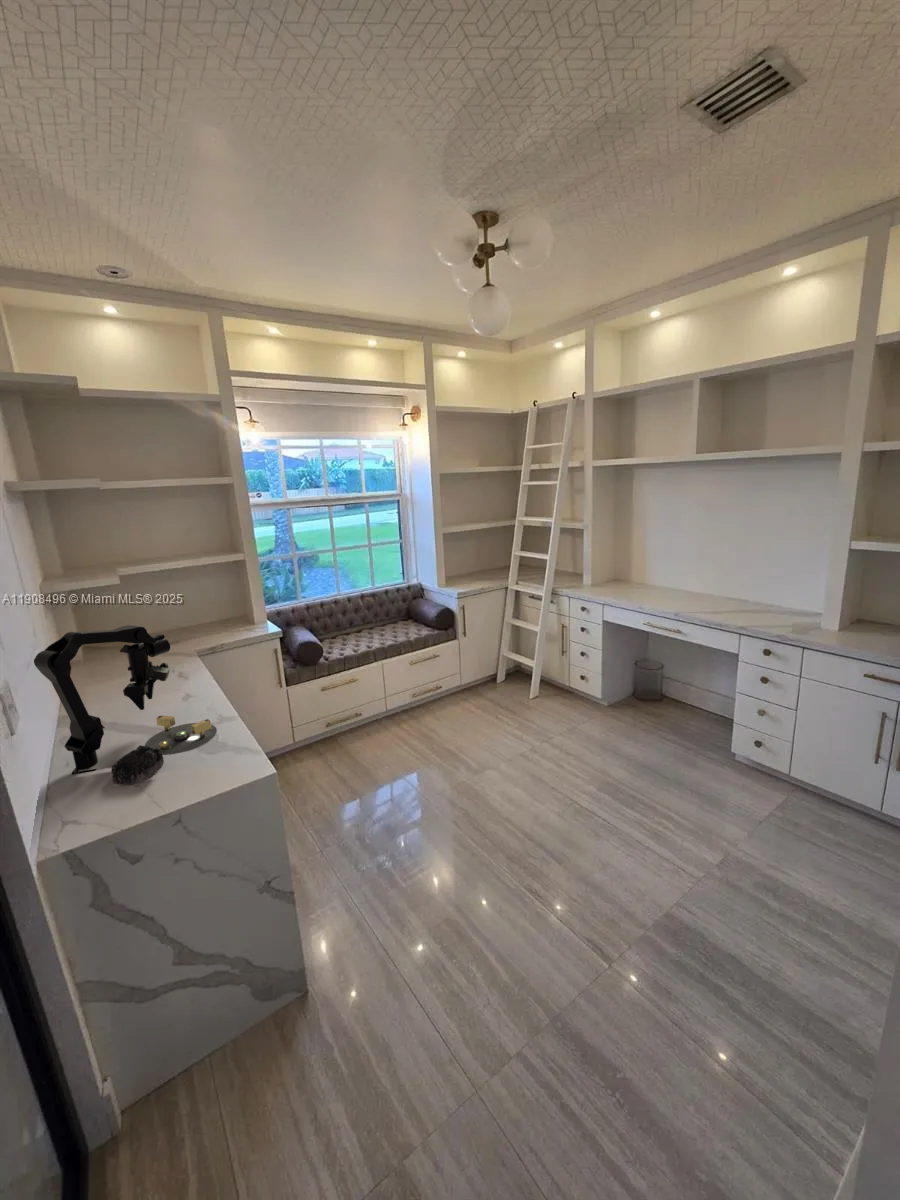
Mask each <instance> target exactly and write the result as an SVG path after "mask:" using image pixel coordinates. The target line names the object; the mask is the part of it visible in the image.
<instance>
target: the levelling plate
mask: <svg viewBox="0 0 900 1200" xmlns="http://www.w3.org/2000/svg"><path fill="white" fill-rule="evenodd" d="M196 723H197V722H192V723H191V722H190V723H185V724H180V725H174V726H171V727H170V731H167V732H166V731H165V729H164V730H162V731H160V732H158V733H156V734H154V735H153V736H151V737H150V738H149V739H148V740H147V741H146V742H145V744H144V746H147V747H151V748H153V749H160V750H161V752H162V756H167V755H168V756H169V755H174V754H180V753H185V752H188V751H192V750H194V749H196V748H199V747H201V746H203V745H205V744H207V743H209V742H210V741H211V740H213V738H214V737H215V736H216V735H217V732H218V729H217V727H216V726H215V725H214V724H211V729H208V730H206V731H205V737H202V738H201V737H200V733H198V734H196V735H195V734H193V733H192V730H191V725H193V724H196Z"/></svg>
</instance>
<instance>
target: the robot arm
mask: <svg viewBox="0 0 900 1200" xmlns="http://www.w3.org/2000/svg"><path fill="white" fill-rule="evenodd" d="M117 642H118V643H127V644H124V645H123V646H122V647H121V649H119V652H120V653H124V654H127V659H128V665H129V666H128V667H127V671H130V676H131V677H130V679H129V682H130V683H128V684H127V685H126V686H125V687H124V688H123V690H122V691H123V696H125V697H126V698H127V697H128V698H129V699H130V700H131V701H132V702H133V704H134V705H135V706H137V708H138V709H139V711H143V710H145V696H146V698H147V699H148V700H152V699H153V695H154V688H155V682H156V681H160V682H165V681H167V679H168V677H169V675H170V672H171V668H170V667H169V665H168V663H167V662H161V664H160V665H158V664H157V665H153V661H151V660H150V659H149V657H150V658H154V657H155V658H156V657H158V656H161V655H164V654H166V653H168V652H170V651H171V643H169V640H168V639H167V638H165V634H161V633H159V634H157V635H155V636H151V635H150V633H148V631H147V629H146V628H145V627H144V626H138V625H131V624H130V625H129V624H127V625H124V626H120V627H119V626H118V627H116V628H113V629H107V630H91V631H68V632H66V633H65V634H63V636H61V638H59V639H58V640H57V641H54V642H53V643H50V644H49V645H48V646H47V647H46V648H45V649H44V650H42V651H40V652H38V653H37V654H36V655H35V656H34V657H35V658H34V659H33V663H34V666H35V668H36V670H38V671H39V673H40V674H42V675H43V676H44V677H45V678H46V679H47V680H48V681H50V683H51V685H52V687H53V688H54V690H55V692H56V694H57V696H58V698H59V700H60V703H61V704H62V707H63V708H64V710H65V712H66V713H67V716H68V718H69V720H70V722H69V723H70V724H69V731H70V734H71V735H70V736H69V738H68V740H67V741H66V742H65V744H64V746H63V747H64V748H65V750H66V751H68V752H72V756H73V760H74V765H75V768H74V769H73V770H72V771H71V775H76V774H83V773H90V772H95V771H97V768H95V769H91V768H92V767H94V766H95V765H97V764H98V763H99V760H98V754H97V751H98V750H100V749H101V744H102V738H103V736H104V735H105V732H104V729H105V726H104V725H103V724H102V720H101V718H100V717H98V716H94V715H90V714H89V712H88V710H87V708H86V706H85V703H84V702H83V699H82V698H81V696H80V693H79V692H78V689H77V687H76V686H75V684H74V682H73V681H74V680H73V679H72V678H71V674H72V664H71V661H72V660H74V658H75V657H76V655H77V653H78V652H79V650H80V648H81V647H82V646H85V645H94V644H106V643H117ZM130 644H131V645H130Z"/></svg>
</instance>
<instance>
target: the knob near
mask: <svg viewBox="0 0 900 1200" xmlns="http://www.w3.org/2000/svg"><path fill="white" fill-rule="evenodd" d="M195 723H196V724H193V725H191V730H192V733H193V734H195V735H196V734H198V733H200V737H201V738H202V737H205V731H206V730H208V729H211V725H212V722H211V720H210V719H207V718H206V719H204V720H201V721H199V722H195Z"/></svg>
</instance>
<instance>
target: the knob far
mask: <svg viewBox="0 0 900 1200" xmlns="http://www.w3.org/2000/svg"><path fill="white" fill-rule="evenodd" d="M155 720H156V725H157V726H160V727H163V728H164V730H165V731H166V732H167V731H170V728H172V727H174V726H176V719H175V716H171V715H161V714H160V715H159V716H157V717H156V719H155Z"/></svg>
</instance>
